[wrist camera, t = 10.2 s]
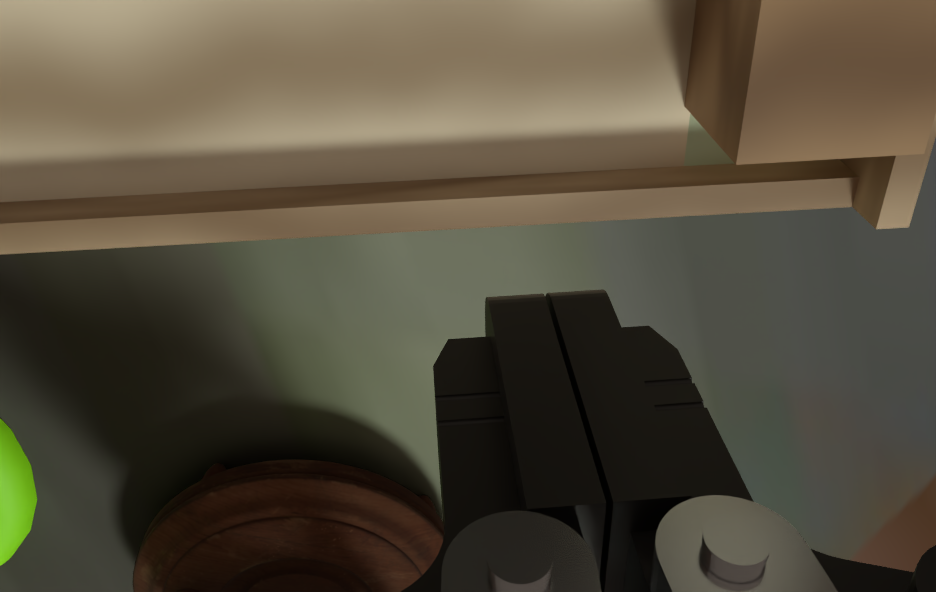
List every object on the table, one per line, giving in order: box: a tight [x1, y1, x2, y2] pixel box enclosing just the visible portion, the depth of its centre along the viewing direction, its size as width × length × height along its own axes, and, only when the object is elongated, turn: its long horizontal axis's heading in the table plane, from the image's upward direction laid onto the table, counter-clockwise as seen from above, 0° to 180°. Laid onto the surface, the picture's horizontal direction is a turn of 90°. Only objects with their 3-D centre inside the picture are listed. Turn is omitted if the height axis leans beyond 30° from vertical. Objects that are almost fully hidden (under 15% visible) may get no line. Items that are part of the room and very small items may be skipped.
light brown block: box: [684, 0, 936, 165], centre depth 22 cm, size 5×5×4 cm
